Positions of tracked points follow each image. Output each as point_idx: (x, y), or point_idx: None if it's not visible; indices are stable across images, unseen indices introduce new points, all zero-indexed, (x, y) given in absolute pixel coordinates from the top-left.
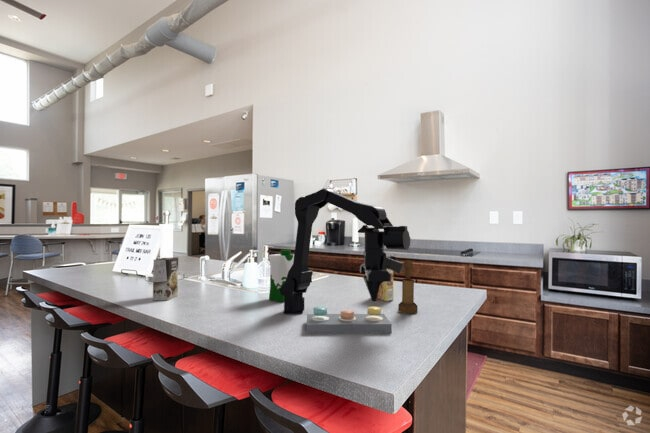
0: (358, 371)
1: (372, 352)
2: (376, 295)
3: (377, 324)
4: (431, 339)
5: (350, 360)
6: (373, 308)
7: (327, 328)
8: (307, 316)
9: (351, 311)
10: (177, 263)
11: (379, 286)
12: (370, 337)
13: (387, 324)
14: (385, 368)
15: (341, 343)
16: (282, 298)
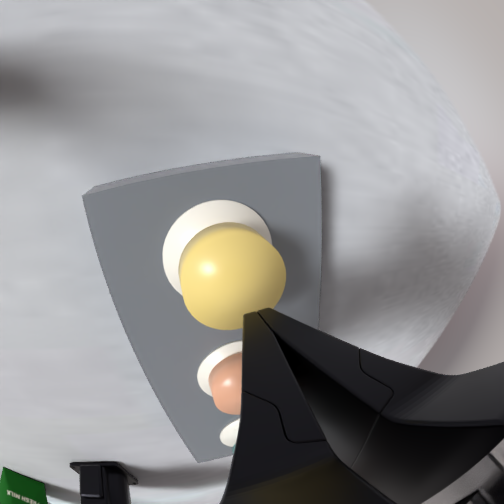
0: (471, 256)
1: (433, 235)
2: (311, 333)
3: (321, 232)
4: (353, 17)
5: (447, 277)
6: (243, 290)
7: None
8: (226, 455)
9: (237, 383)
10: None
11: (418, 369)
12: (344, 246)
13: (319, 178)
14: (475, 211)
15: (377, 319)
16: (42, 490)
